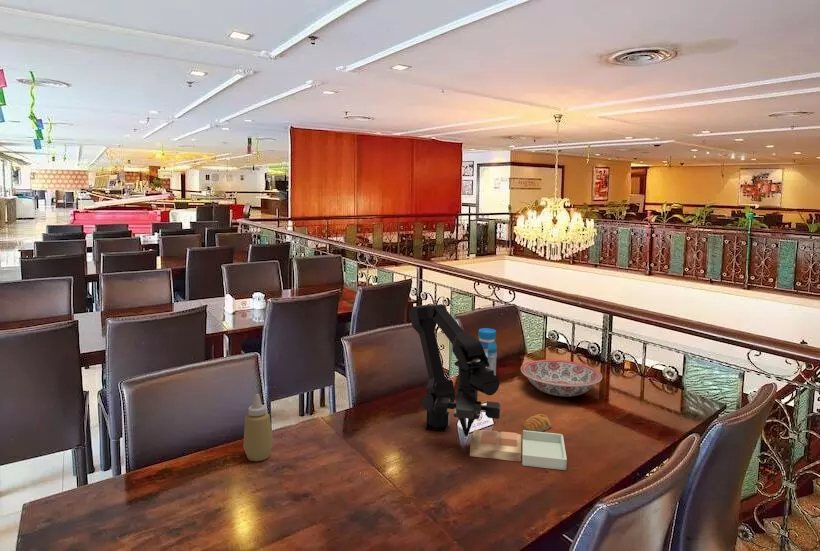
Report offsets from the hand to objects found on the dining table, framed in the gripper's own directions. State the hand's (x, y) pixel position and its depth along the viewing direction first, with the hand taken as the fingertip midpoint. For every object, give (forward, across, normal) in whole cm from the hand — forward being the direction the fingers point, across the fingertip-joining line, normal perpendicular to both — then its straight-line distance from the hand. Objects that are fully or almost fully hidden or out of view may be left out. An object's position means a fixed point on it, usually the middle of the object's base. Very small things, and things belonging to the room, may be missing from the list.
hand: (466, 435), depth 160 cm
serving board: (+3, +9, 0) cm, 9 cm away
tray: (+3, +22, 0) cm, 22 cm away
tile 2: (+1, +12, 0) cm, 12 cm away
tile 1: (+1, +7, 0) cm, 7 cm away
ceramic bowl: (+4, +30, +52) cm, 60 cm away
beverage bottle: (+3, +2, +59) cm, 59 cm away
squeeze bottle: (+3, -55, -20) cm, 59 cm away
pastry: (+4, +20, +18) cm, 27 cm away
